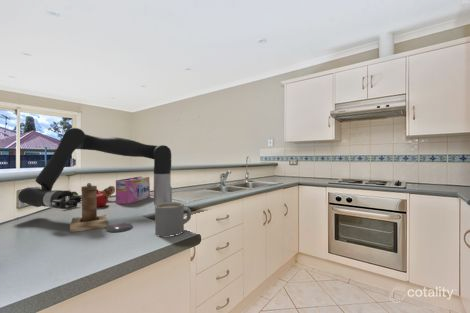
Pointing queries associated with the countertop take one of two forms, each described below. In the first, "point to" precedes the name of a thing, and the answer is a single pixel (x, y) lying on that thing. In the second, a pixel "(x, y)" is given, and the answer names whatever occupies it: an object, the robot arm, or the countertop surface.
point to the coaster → (119, 227)
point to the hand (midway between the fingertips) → (86, 201)
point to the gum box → (132, 190)
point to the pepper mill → (89, 203)
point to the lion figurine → (108, 191)
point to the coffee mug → (170, 218)
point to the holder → (88, 223)
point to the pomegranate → (101, 199)
